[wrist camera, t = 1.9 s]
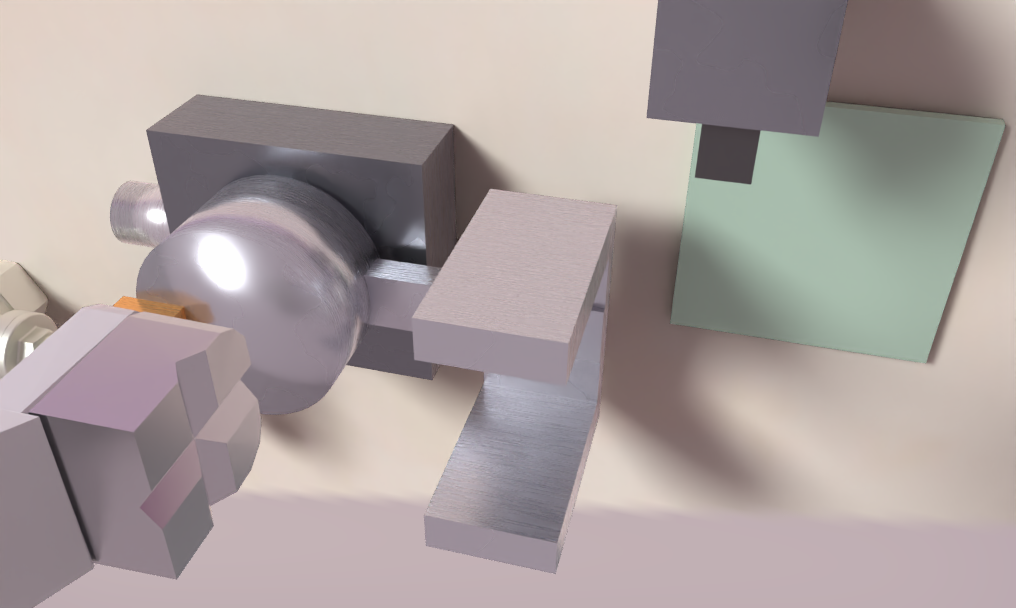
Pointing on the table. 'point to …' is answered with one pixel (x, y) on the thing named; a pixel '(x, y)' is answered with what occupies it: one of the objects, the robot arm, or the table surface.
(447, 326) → the silver rounded housing
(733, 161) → the grey tabbed block
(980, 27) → the table surface
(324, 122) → the block
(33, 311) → the valve
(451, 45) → the table surface
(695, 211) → the felt pad
